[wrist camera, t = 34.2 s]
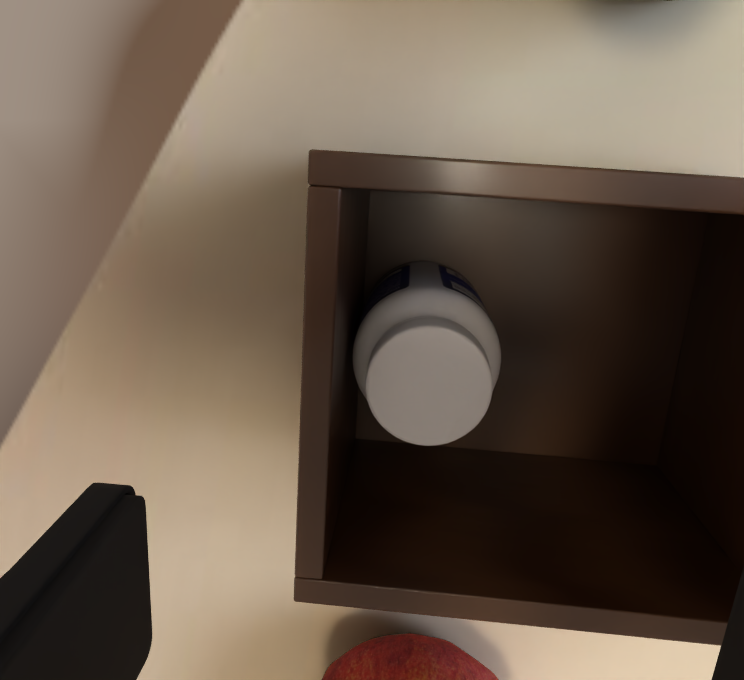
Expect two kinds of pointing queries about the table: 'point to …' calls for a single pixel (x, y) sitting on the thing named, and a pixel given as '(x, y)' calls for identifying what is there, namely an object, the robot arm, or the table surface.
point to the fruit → (407, 661)
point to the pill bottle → (426, 354)
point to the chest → (534, 399)
